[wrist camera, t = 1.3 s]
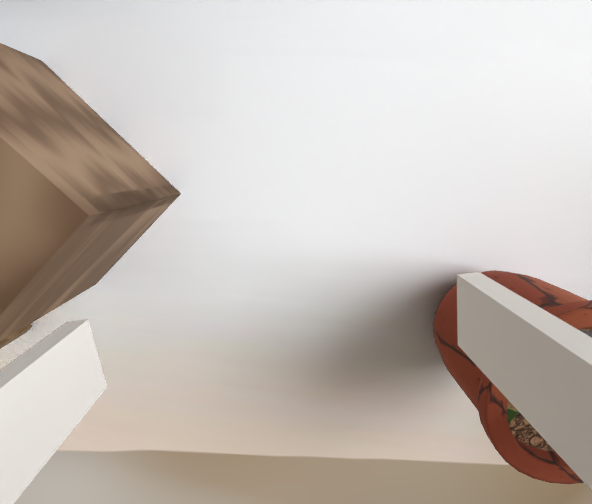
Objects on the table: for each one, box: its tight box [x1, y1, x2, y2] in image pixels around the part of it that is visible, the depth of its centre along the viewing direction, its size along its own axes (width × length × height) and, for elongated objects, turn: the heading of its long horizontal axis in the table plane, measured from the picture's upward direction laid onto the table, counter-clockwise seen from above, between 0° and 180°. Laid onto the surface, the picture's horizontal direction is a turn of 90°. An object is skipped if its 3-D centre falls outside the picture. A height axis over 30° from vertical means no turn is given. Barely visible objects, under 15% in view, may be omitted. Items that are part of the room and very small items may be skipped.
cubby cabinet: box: [0, 43, 181, 341], centre depth 26 cm, size 16×13×16 cm
